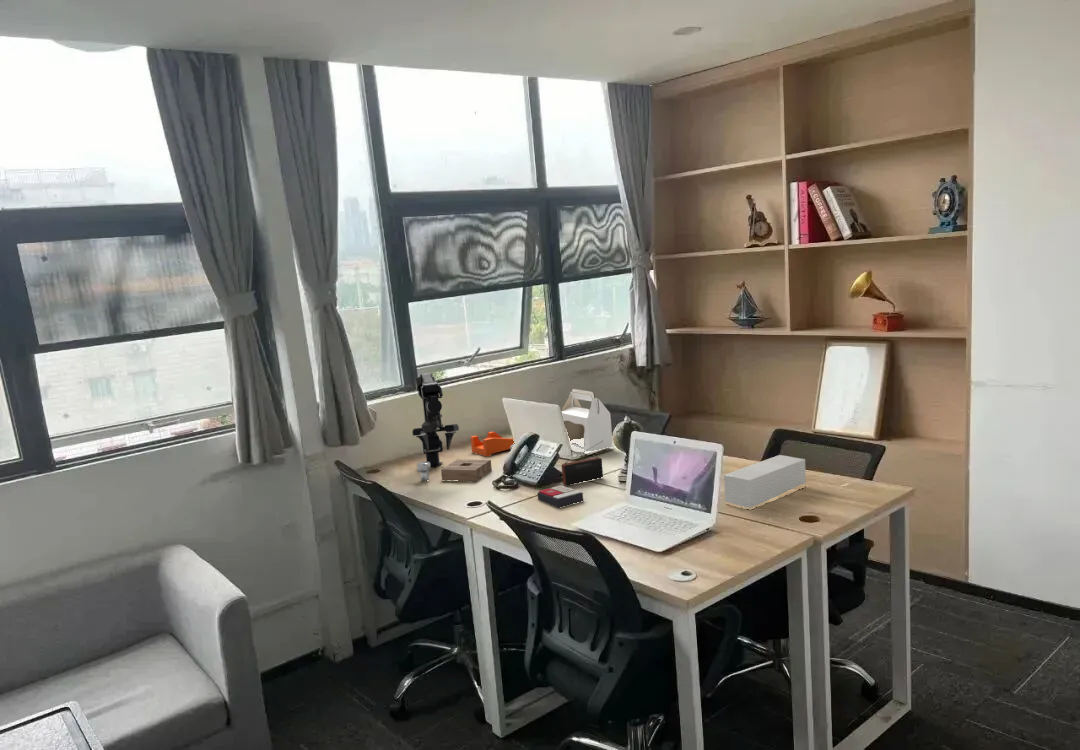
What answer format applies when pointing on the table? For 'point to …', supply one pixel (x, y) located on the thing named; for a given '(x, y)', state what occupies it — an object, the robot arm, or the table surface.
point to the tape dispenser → (490, 444)
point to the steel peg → (424, 470)
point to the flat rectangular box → (560, 496)
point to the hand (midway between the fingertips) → (437, 450)
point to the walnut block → (466, 470)
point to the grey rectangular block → (764, 480)
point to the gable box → (587, 421)
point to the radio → (582, 470)
